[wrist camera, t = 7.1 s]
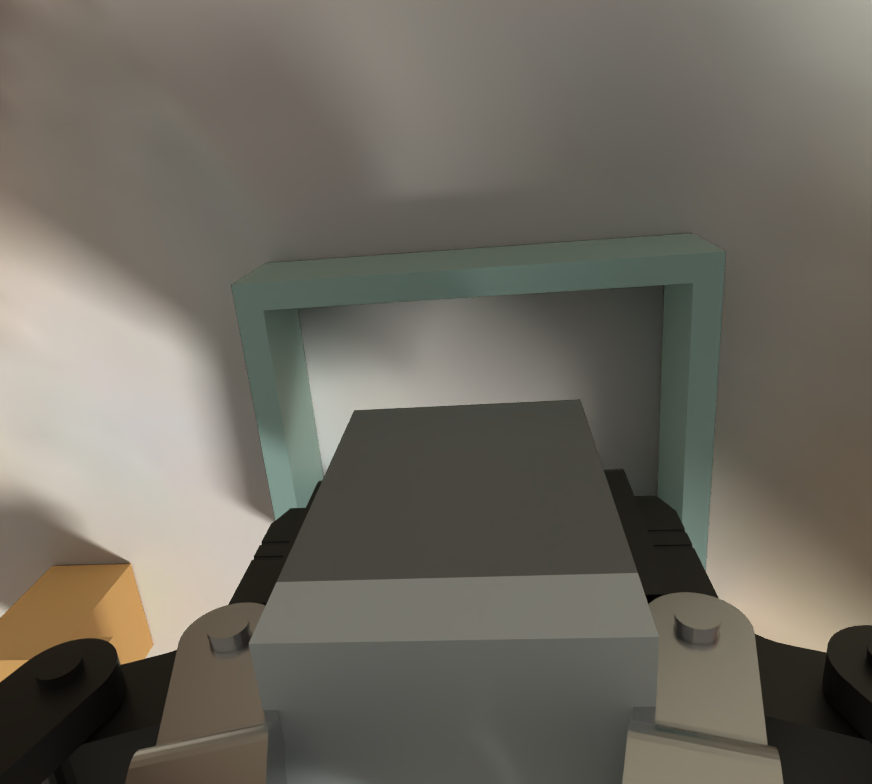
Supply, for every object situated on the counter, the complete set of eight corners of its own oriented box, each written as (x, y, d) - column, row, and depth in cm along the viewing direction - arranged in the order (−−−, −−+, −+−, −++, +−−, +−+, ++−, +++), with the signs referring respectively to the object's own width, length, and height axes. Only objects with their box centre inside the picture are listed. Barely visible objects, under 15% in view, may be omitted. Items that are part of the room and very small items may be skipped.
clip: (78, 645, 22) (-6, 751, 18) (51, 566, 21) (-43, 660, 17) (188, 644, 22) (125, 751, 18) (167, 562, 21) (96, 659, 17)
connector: (580, 399, 12) (659, 636, 7) (581, 589, 14) (646, 915, 8) (354, 410, 13) (248, 644, 7) (378, 595, 14) (307, 909, 8)
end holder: (692, 232, 16) (725, 251, 14) (678, 536, 19) (704, 594, 17) (266, 263, 17) (231, 284, 15) (313, 547, 20) (290, 602, 18)
